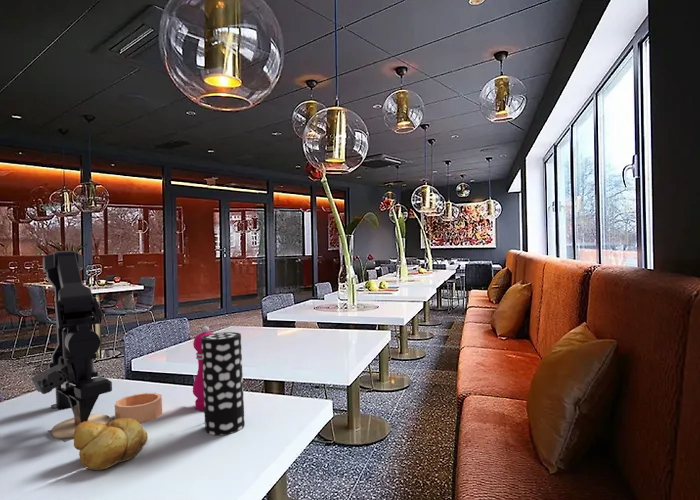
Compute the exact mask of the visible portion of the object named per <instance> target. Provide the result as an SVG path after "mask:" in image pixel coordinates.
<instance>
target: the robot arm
mask: <svg viewBox="0 0 700 500" xmlns="http://www.w3.org/2000/svg"><path fill="white" fill-rule="evenodd" d="M83 265H84V264H83V254H80V253H78V251H75V250H60V251H59V250H58V251H56V252H53V253H52V254H48V255H44V256H43V257H42V272H43V273H46V280H47V281H48V283H49V284H50V285H51V286H52V287H53V290H54V309H55V321H56V322H55V323H56V324H55V325H56V338H57V345H56V347H55V348H54V350H53V352H52V354H51V355H50V358H51V359H50V360H51V362H49V363H48V368H47V369H45V370H44V371H41V372H40V373H38V374H36V375H33V377H31V381H32V384H33V385H34V387H35V389H36V392H38V393H41V394H42V395H46V394H49V393H50V392H52V391H53V390H54V389H55V403H54V404H53V403H52V404H51V405H50V407H51V408H53V409H57V410H58V411H62V410H66V409H70V408H71V411H72V413H73V415H74V406H75V405H77V407H78V412H79V416H80V420H81V422H84V421H87V420H88V418H89V416H90V415H91V413H92V411H93V409H94V407H95V404H96V402H97V400H98V399H99V396H100V395H103V394H107V393H110V392H112V391H113V382H112V381H111V380H110V379H109V378H106V377H103V376H99V375H98V373H99V372H98V371H96V370H95V365H94V363H95V362H94V361H95V360H94V359H97V358H98V354H97V352H98V351H99V349H100V346H101V338H100V337H99V335H98V334H97V333H96V331H94V330H93V325H100V324H101V320H102V316H103V315H102V311H101V307H100V303H99V301H98V300H97V297H96V296H95V297H94V296H93V293H92V289H91V288H90V287H88V286H86V285H84V283H83V280H82V275H81V272H80V271H82V270H83V269H84V266H83Z"/></svg>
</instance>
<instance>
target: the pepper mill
mask: <svg viewBox="0 0 700 500" xmlns="http://www.w3.org/2000/svg"><path fill="white" fill-rule="evenodd" d="M209 334H215V333H214V332H212V331H211V332H210V328H209V326H208V325H204V326H203V327H202V328H201V332H200V333H199V334H197V335H196V336H195V337H194V338H193V339H194V340H193V343H192V346H193V349H194V350H195V351H196V354H195V356H196V357H195V359H196V360H197V362H198V366H197V367H198V369H197V373H196V377H195V379H194V381H193V386H192V394H193V396H194V397H196V399H195V402H194V403H195V405H194V406H195V409H196V410H198V411H204V389H203V365H202V342H201V338H202V337H203V336H205V335H209Z"/></svg>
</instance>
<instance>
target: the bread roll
mask: <svg viewBox="0 0 700 500" xmlns="http://www.w3.org/2000/svg"><path fill="white" fill-rule="evenodd" d="M148 438H149V437H148V432H147V430H145V428H143V426H142V423H139V422H137V421H136V420H135V419H131V418H119V419H113V420H111V421H110V422H109V423H107V424H102V423H96V422H89V421H84V422H81V423H80V424H78V425H77V426H76V428H75V431H74V439H73V447H74V448H75V449H76V450H77V451H79V454H78V455H79V459H80V464H81V465H82V466H83V467H85V468H87V469H89V470H95V471H98V470H99V471H100V470H106V469H108V468H110V467H112V466H114V465H115V464H117V463H121V462H125V461H127V460H131V459H132V458H134V457H135V456H137V455H138V452H139V451H140V450H142V449H143V448H144V446H145V445H146V443H147V442H148Z"/></svg>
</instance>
